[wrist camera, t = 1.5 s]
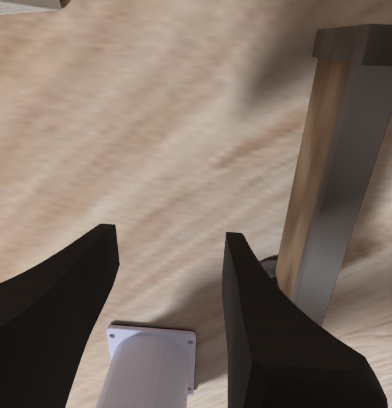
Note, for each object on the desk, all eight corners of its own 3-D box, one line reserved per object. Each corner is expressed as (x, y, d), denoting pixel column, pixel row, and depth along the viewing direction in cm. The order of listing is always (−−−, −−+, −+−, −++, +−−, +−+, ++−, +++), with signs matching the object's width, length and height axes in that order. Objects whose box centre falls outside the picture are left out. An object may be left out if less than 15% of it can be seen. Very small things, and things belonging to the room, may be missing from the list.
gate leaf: (292, 269, 22) (315, 343, 17) (270, 267, 22) (286, 340, 17) (348, 30, 15) (420, 25, 10) (315, 29, 15) (369, 23, 10)
